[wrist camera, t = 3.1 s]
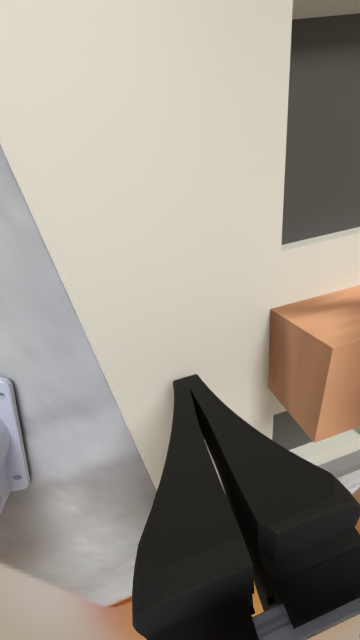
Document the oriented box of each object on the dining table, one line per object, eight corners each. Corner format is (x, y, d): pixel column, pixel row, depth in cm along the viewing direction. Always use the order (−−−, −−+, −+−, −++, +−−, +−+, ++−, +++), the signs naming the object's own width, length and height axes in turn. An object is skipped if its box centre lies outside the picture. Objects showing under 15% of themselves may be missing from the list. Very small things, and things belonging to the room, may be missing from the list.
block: (268, 388, 14) (314, 443, 11) (270, 309, 12) (333, 348, 8) (344, 363, 15) (411, 407, 11) (363, 283, 12) (459, 309, 9)
